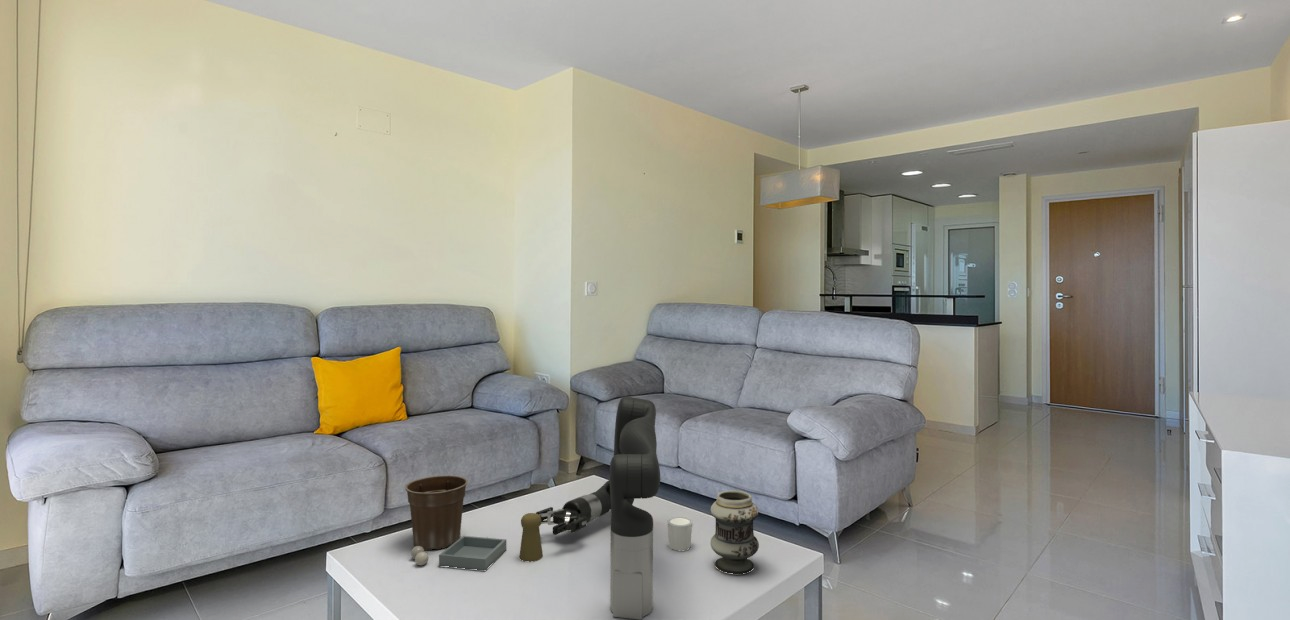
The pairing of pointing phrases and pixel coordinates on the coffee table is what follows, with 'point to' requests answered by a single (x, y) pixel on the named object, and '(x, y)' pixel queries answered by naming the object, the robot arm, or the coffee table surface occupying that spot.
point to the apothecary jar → (734, 531)
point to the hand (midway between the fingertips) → (541, 527)
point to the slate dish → (473, 552)
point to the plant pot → (436, 510)
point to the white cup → (679, 533)
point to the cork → (531, 538)
